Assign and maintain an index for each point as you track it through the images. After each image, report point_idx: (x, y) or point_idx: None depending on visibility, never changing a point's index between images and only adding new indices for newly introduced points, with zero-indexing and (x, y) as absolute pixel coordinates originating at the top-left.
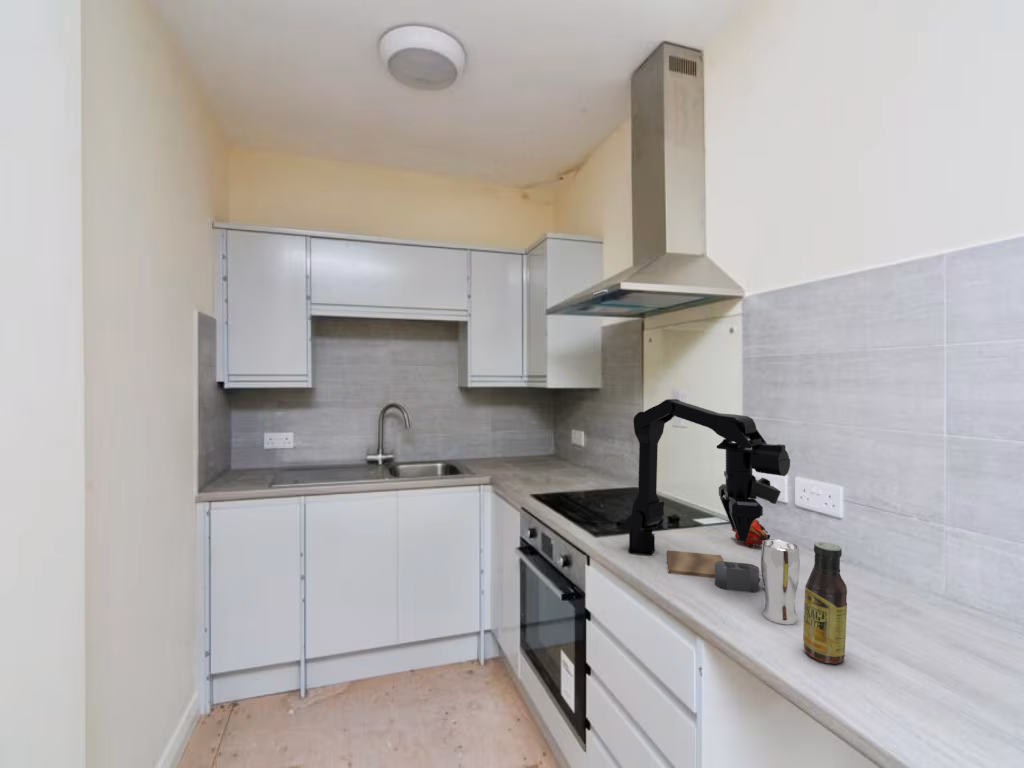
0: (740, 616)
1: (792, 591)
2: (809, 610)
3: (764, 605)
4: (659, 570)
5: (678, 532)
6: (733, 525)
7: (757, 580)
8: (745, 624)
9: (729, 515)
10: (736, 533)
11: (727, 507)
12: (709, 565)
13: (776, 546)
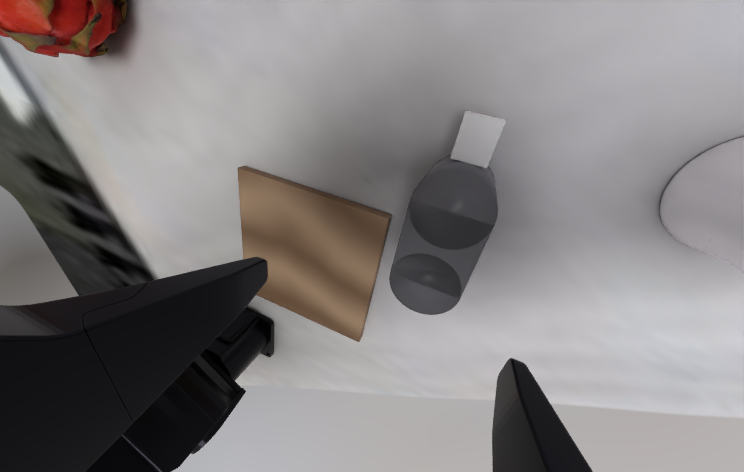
0: (668, 317)
1: None
2: None
3: (709, 254)
4: (349, 345)
5: (120, 200)
6: (251, 291)
7: (491, 179)
8: (736, 333)
9: (192, 353)
10: (76, 53)
11: (119, 413)
12: (318, 237)
13: None
